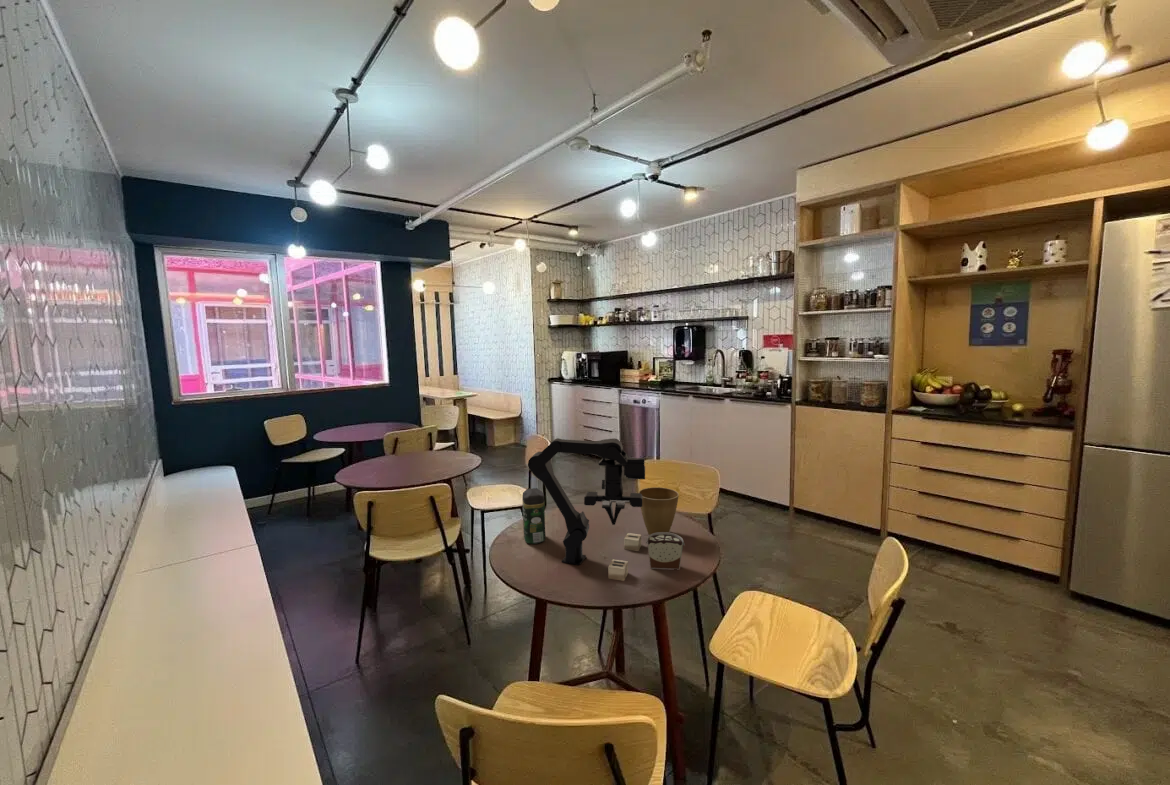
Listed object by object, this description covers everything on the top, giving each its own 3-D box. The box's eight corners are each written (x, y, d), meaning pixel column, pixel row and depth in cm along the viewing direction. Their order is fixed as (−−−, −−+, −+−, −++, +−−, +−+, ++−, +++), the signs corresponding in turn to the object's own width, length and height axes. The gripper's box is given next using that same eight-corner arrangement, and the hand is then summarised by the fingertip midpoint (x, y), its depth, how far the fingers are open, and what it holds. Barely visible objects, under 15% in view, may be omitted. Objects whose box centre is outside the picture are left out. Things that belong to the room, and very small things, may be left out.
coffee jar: (522, 535, 178) (520, 487, 176) (543, 532, 180) (541, 485, 177) (525, 546, 168) (523, 495, 166) (547, 543, 170) (546, 493, 168)
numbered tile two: (624, 581, 144) (624, 568, 143) (608, 578, 145) (608, 566, 145) (627, 573, 149) (627, 561, 148) (612, 571, 150) (612, 558, 150)
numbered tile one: (638, 551, 164) (638, 540, 163) (624, 549, 165) (624, 538, 165) (641, 545, 168) (641, 534, 168) (627, 543, 170) (627, 532, 169)
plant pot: (685, 539, 173) (686, 497, 171) (648, 544, 168) (648, 501, 167) (667, 524, 187) (667, 485, 185) (632, 528, 183) (632, 488, 181)
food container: (682, 560, 156) (682, 531, 155) (684, 569, 150) (684, 539, 149) (644, 559, 157) (645, 530, 156) (645, 568, 151) (645, 538, 150)
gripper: (642, 471, 159) (642, 516, 161) (587, 470, 161) (588, 514, 163) (642, 481, 148) (642, 529, 150) (583, 480, 150) (584, 527, 152)
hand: (613, 524), depth 154 cm, fingers closed
